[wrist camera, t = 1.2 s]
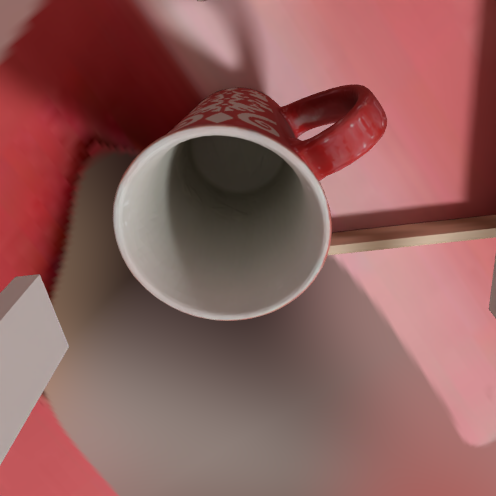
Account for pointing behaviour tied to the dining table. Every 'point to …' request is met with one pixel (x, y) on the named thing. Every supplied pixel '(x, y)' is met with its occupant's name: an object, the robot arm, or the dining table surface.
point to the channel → (412, 234)
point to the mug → (240, 199)
